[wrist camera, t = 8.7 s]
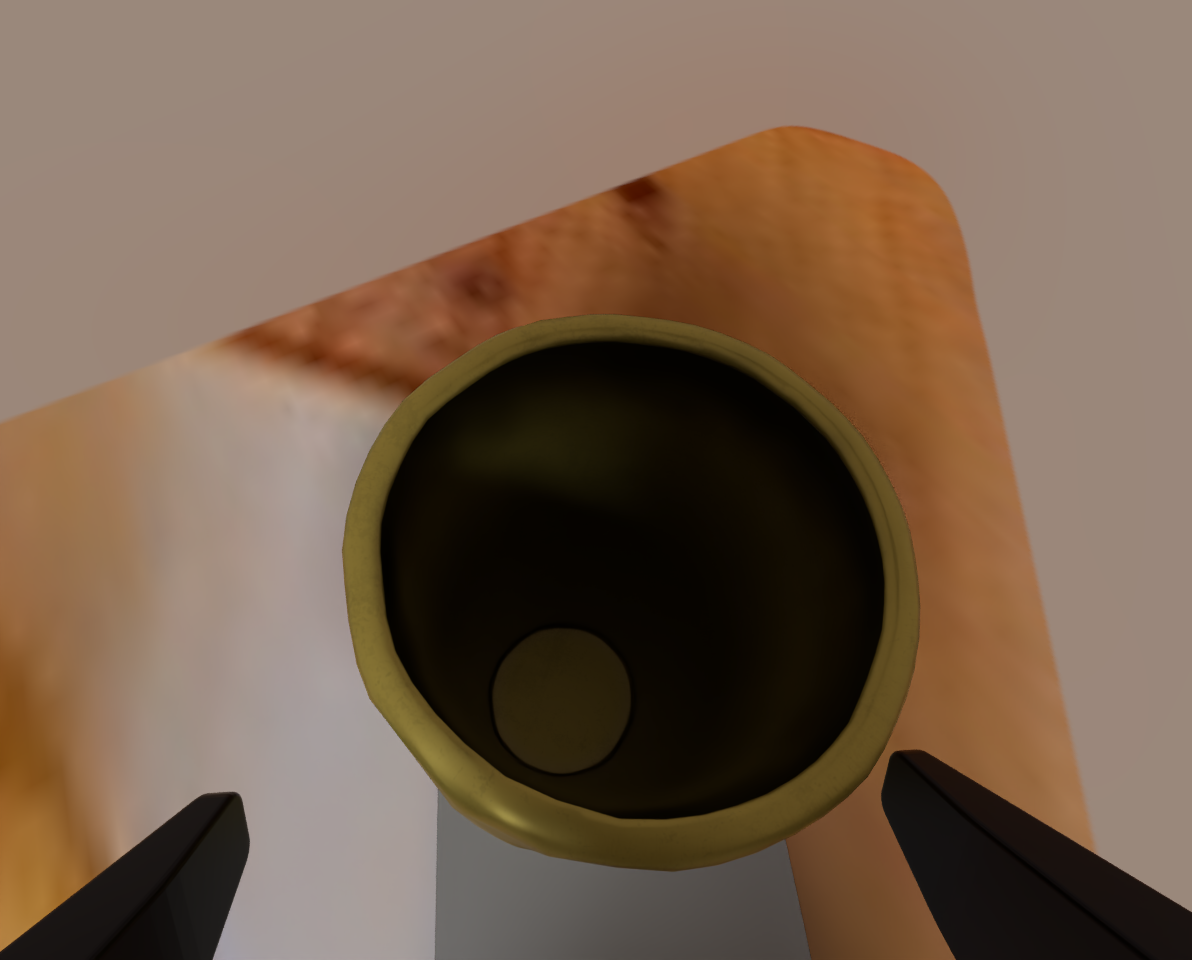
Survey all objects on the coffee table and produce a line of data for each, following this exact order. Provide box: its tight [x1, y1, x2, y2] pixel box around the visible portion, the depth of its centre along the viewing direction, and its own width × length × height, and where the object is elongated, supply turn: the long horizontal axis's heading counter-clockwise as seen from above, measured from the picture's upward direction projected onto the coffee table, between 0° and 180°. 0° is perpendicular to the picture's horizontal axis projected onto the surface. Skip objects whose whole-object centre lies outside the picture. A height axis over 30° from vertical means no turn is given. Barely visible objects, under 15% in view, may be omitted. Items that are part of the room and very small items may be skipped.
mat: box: [435, 789, 811, 960], centre depth 17 cm, size 13×10×1 cm
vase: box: [342, 314, 920, 872], centre depth 11 cm, size 6×6×14 cm
